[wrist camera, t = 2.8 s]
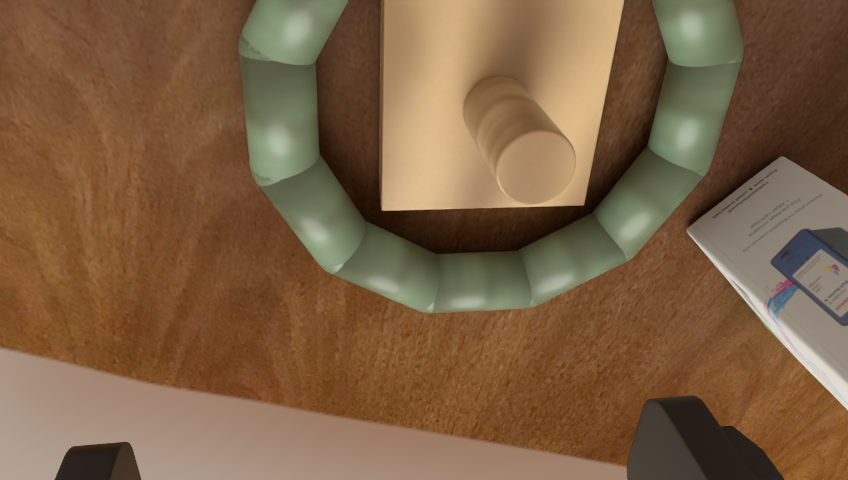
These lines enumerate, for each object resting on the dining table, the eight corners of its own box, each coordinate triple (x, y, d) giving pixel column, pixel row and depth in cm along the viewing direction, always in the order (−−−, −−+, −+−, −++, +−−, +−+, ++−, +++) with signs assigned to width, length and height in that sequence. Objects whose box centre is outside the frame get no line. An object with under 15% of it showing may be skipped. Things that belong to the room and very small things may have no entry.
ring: (267, 297, 27) (263, 334, 25) (218, -200, 18) (205, -205, 16) (654, 279, 29) (679, 312, 27) (778, -166, 21) (828, -167, 19)
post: (378, 197, 25) (394, 289, 20) (380, -21, 21) (401, 23, 16) (574, 192, 26) (637, 278, 21) (612, -16, 22) (703, 27, 17)
